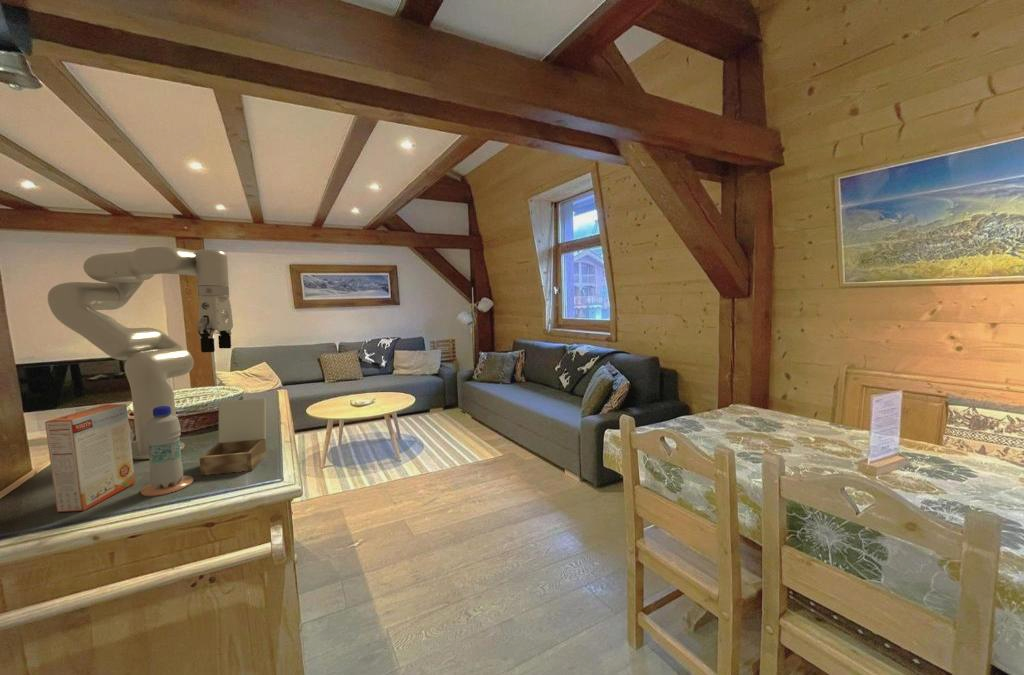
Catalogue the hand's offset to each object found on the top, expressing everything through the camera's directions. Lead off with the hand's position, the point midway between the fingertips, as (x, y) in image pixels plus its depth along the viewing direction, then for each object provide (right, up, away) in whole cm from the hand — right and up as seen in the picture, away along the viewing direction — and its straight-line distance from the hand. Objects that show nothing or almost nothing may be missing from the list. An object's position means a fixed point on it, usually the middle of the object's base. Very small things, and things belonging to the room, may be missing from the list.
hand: (216, 350), depth 121 cm
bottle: (+2, -33, -20) cm, 39 cm away
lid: (+8, -32, +1) cm, 33 cm away
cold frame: (+10, -32, -6) cm, 34 cm away
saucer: (+2, -34, -20) cm, 39 cm away
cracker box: (-10, -34, -25) cm, 44 cm away
